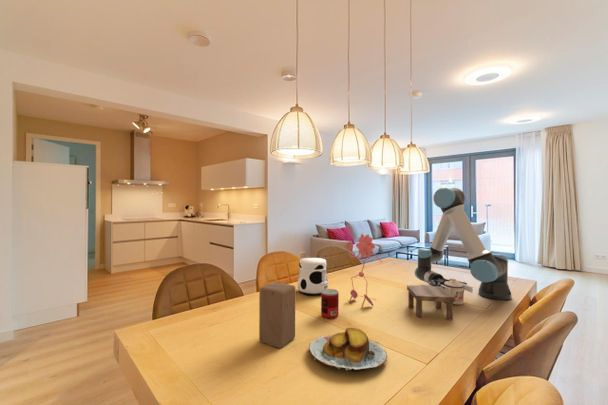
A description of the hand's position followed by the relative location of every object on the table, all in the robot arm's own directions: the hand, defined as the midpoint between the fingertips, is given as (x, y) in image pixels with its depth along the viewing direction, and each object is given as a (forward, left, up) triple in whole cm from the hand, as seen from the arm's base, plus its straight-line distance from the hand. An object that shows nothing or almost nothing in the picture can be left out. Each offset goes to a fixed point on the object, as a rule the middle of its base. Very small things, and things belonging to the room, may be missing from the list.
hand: (460, 290), depth 142 cm
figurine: (+47, +1, -8) cm, 48 cm away
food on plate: (+59, +53, -8) cm, 80 cm away
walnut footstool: (+19, +11, -7) cm, 23 cm away
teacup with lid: (+1, -4, -7) cm, 8 cm away
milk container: (+75, -13, -8) cm, 76 cm away
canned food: (+65, +20, -8) cm, 68 cm away
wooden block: (+84, +45, -8) cm, 96 cm away
